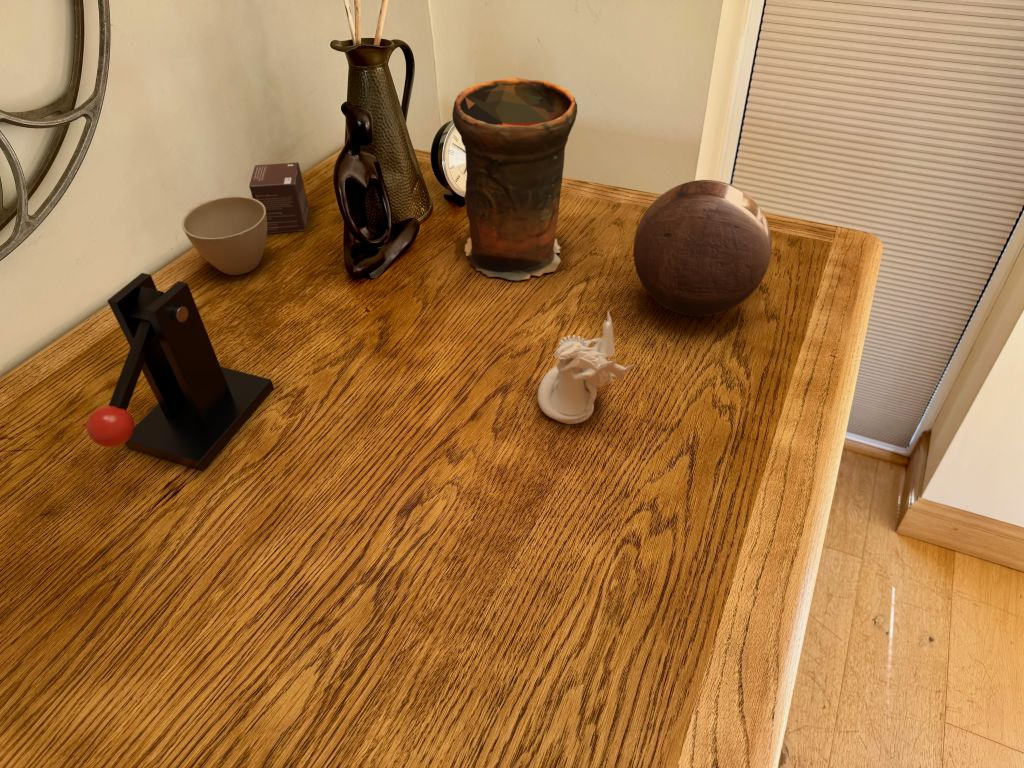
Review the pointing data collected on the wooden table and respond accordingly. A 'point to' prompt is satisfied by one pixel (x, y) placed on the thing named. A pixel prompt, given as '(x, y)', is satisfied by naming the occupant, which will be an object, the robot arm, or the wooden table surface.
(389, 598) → the wooden table surface
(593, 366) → the figurine
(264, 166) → the box
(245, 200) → the flower pot
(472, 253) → the vessel
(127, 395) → the switch
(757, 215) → the wooden sphere
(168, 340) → the lever base
